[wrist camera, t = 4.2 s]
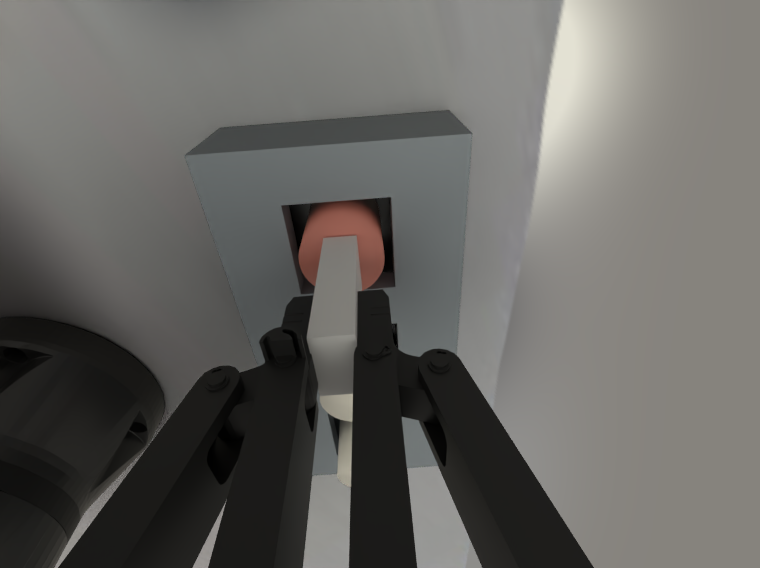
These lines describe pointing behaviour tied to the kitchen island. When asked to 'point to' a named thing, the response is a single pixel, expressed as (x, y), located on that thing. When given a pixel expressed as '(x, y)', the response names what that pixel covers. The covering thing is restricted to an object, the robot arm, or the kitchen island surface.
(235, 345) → the kitchen island surface
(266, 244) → the grey socket block
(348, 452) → the ivory egg
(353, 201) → the red egg
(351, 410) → the cream egg
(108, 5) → the kitchen island surface
